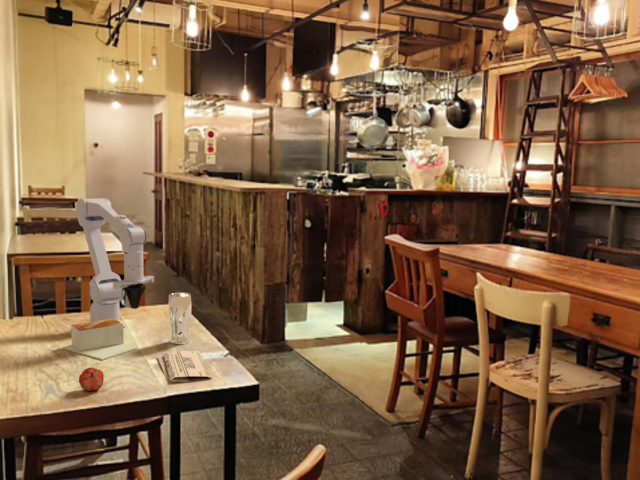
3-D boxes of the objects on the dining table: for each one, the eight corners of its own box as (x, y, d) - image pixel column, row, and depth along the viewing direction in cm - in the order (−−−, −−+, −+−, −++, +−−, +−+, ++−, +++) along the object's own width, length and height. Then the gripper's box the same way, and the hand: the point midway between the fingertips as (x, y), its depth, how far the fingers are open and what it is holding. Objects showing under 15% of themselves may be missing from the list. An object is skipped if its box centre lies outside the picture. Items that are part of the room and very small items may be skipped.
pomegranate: (78, 394, 142) (75, 385, 136) (82, 372, 145) (79, 362, 139) (102, 395, 143) (101, 386, 137) (105, 373, 146) (104, 363, 140)
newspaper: (156, 358, 166) (157, 350, 166) (199, 359, 170) (199, 351, 170) (163, 387, 145) (164, 377, 145) (211, 386, 149) (212, 377, 149)
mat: (62, 348, 171) (62, 347, 171) (96, 338, 181) (96, 337, 181) (102, 360, 162) (102, 359, 162) (136, 349, 172) (136, 348, 172)
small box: (123, 323, 175) (79, 330, 167) (124, 343, 176) (79, 351, 167) (114, 317, 181) (70, 324, 173) (114, 337, 182) (71, 344, 174)
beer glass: (195, 339, 183) (195, 293, 181) (183, 346, 176) (183, 298, 174) (176, 337, 185) (176, 291, 183) (164, 343, 178) (163, 295, 176)
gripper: (123, 270, 172) (124, 314, 173) (160, 263, 184) (161, 305, 186) (107, 267, 175) (108, 311, 177) (145, 261, 187) (145, 302, 189)
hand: (134, 308), depth 182 cm, fingers closed
